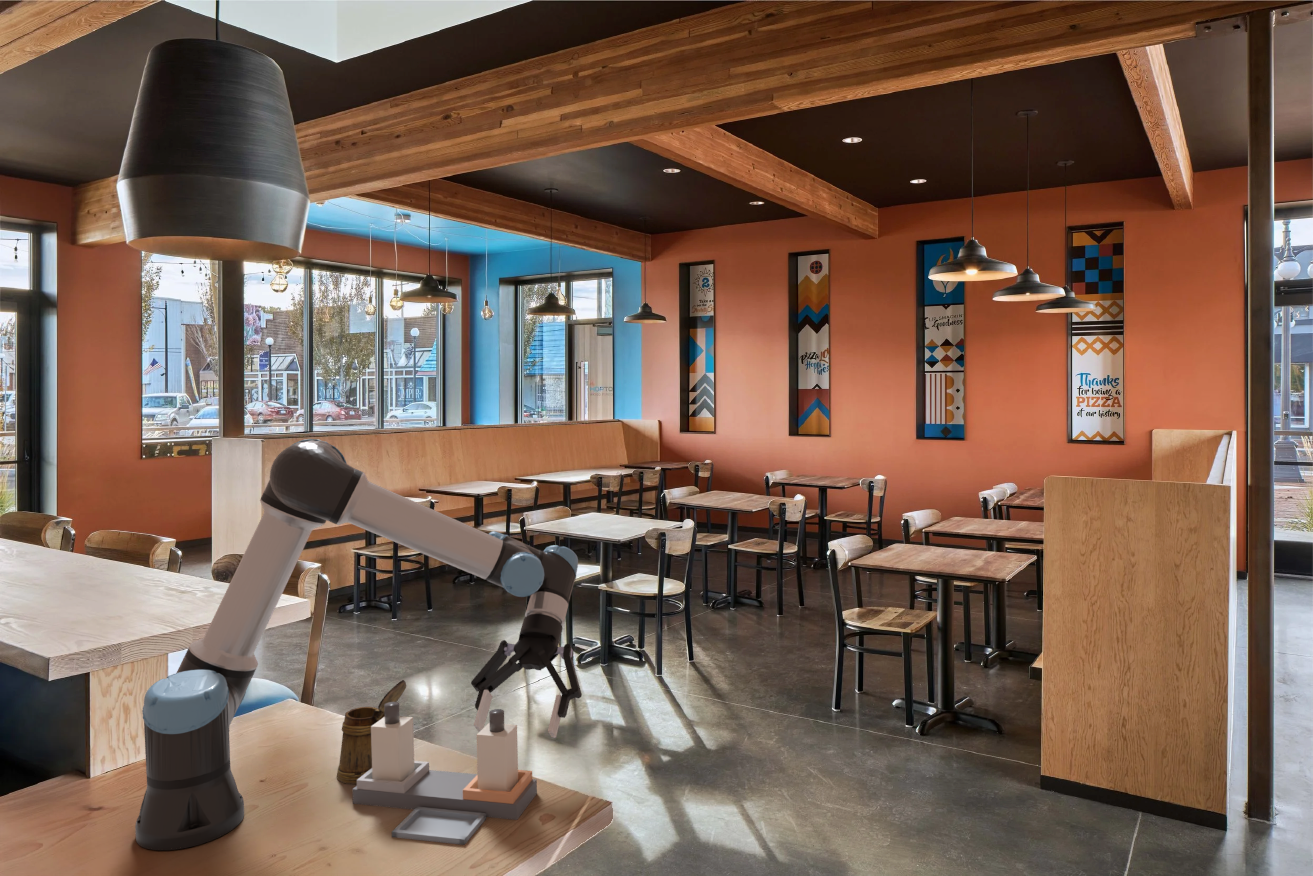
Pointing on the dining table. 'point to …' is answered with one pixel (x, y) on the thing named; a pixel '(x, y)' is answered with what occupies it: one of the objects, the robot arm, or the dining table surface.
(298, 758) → the dining table surface
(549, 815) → the dining table surface
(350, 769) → the wooden mug
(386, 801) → the grey base
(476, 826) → the tray
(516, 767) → the bottle
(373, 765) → the twin plug
